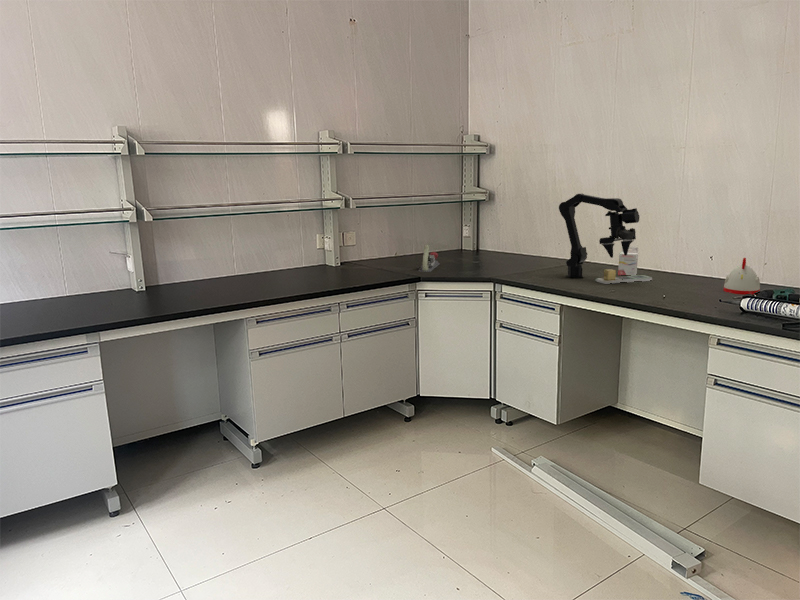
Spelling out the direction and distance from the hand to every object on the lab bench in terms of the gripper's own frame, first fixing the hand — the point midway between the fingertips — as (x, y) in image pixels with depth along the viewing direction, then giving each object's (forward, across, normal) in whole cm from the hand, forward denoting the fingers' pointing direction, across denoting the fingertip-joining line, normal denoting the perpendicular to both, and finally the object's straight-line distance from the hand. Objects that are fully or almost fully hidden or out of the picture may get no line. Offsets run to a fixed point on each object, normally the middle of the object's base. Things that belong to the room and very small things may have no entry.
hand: (618, 256), depth 289 cm
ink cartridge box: (+12, +17, +12) cm, 24 cm away
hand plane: (0, -55, +93) cm, 108 cm away
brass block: (+12, -4, +3) cm, 13 cm away
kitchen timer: (+19, +26, -44) cm, 55 cm away
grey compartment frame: (+13, +3, +1) cm, 13 cm away
